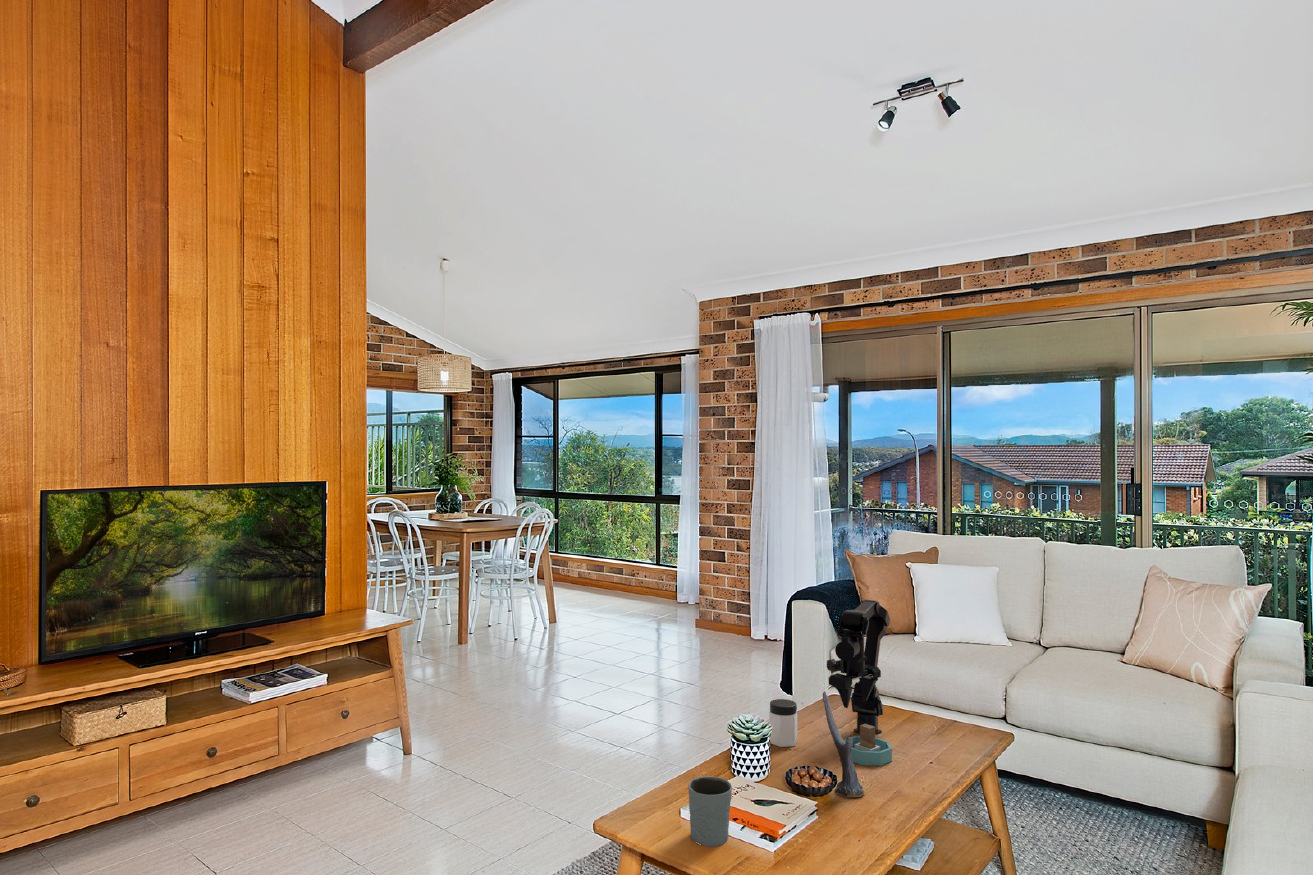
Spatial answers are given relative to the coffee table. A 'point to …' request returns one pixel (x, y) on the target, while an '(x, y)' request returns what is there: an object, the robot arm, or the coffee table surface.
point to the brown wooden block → (867, 736)
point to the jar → (783, 722)
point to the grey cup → (709, 810)
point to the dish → (871, 752)
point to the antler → (843, 758)
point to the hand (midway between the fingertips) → (855, 704)
